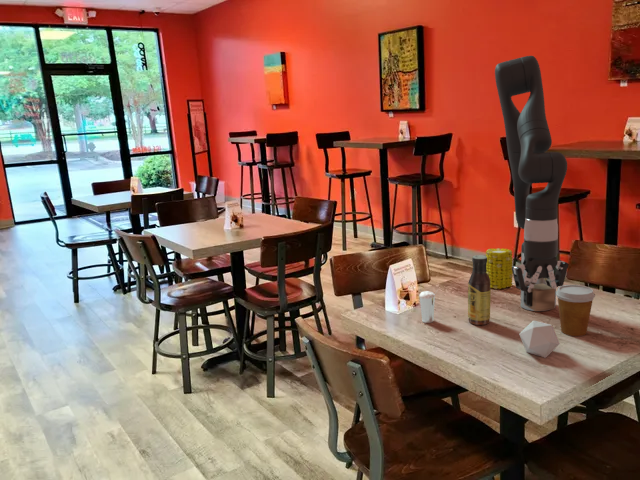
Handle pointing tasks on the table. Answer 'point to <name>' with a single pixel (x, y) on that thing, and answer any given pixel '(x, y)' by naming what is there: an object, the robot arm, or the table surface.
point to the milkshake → (427, 306)
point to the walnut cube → (543, 297)
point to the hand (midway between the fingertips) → (539, 304)
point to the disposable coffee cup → (574, 308)
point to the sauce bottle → (479, 292)
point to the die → (539, 338)
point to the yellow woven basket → (499, 268)
